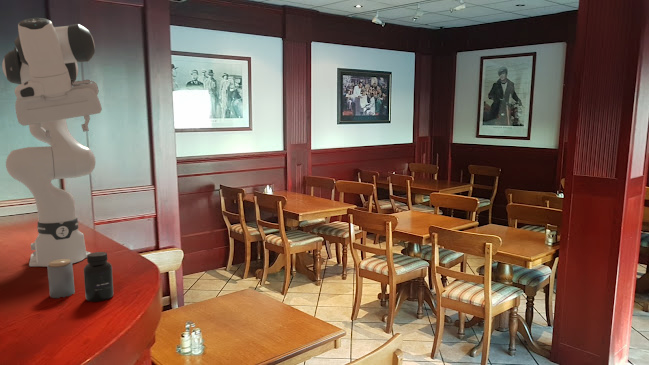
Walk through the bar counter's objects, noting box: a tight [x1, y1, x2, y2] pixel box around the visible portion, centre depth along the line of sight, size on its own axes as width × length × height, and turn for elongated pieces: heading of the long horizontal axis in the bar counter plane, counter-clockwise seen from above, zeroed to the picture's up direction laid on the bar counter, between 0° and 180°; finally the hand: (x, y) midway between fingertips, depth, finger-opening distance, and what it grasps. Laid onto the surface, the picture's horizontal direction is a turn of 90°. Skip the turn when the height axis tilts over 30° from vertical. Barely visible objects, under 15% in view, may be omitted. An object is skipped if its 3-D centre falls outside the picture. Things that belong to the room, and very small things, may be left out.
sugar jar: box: [46, 259, 76, 299], centre depth 132 cm, size 6×6×9 cm
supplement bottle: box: [83, 251, 114, 303], centre depth 128 cm, size 7×7×12 cm
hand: (67, 134), depth 132 cm, fingers open, 8 cm apart
